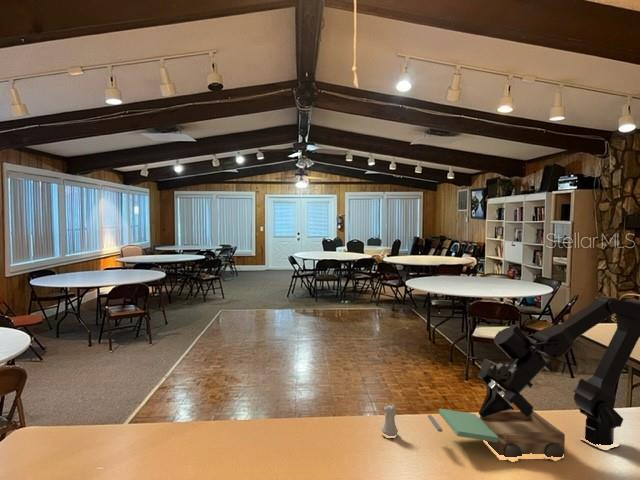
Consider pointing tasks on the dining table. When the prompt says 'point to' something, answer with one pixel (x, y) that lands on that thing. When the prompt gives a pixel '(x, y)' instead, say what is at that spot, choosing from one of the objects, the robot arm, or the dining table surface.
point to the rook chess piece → (389, 421)
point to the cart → (524, 434)
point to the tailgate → (465, 425)
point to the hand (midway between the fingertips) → (480, 415)
